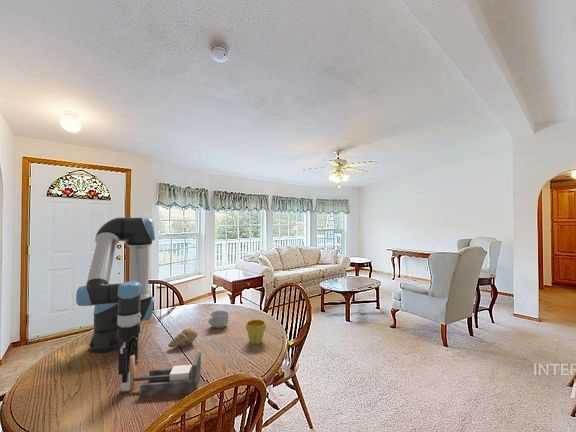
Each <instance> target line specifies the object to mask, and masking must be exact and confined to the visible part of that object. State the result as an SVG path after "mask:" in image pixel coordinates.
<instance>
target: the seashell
mask: <svg viewBox="0 0 576 432" xmlns="http://www.w3.org/2000/svg"><path fill="white" fill-rule="evenodd" d="M198 335H199V334H198V333H197V332H196V331H195V330H194V329H192V328H185V329H183V330H182V331H181V332H180V333H178V334H177V336H175V337H174V338H173V339H172V340H171V341H170V342H169V344H168V345H167V346H168V347H169V348H174V347H186V346H189V345H191V344H193V342H194V341H195V340H196V338H197V337H198Z"/></svg>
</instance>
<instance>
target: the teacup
mask: <svg viewBox="0 0 576 432" xmlns="http://www.w3.org/2000/svg"><path fill="white" fill-rule="evenodd" d="M229 315H230V313H229V311H225V310H214V311H212V312H211V313H210V317H209V319H208V324H209V325H210V326H211V327H213V328H214V329H224V328H225V327H226V326H227V325H228V324H229Z"/></svg>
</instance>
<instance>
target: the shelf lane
mask: <svg viewBox="0 0 576 432" xmlns="http://www.w3.org/2000/svg"><path fill="white" fill-rule="evenodd" d="M201 359H202V352H201V351H196V354H195V356H194V359H193V363H192V364H191V365H192V380H187V381H173V382H170V379H158V380H148V381H149V382H148V383H147V382H146V383H141V384H140V385H139V386H140V387H139V397H151V396H163V395H164V396H165V395H176V394H189V393H190V394H191V393H194V392H193V391H195V390H196V391H197V390H198V387H199V383H200V380H201V369H202V367H201V365H202V363H201V362H202V360H201ZM172 368H173V367H172ZM172 368H160V369H158V368H157V369H155V368H154V369H150V370H149V371H148V373H149V374H148V376H158V375H170V373H171V370H172ZM157 381H162V382H157Z"/></svg>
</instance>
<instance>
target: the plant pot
mask: <svg viewBox="0 0 576 432" xmlns="http://www.w3.org/2000/svg"><path fill="white" fill-rule="evenodd" d="M266 329H267V322H266V321H265V320H264V319H251V320H248V321H247V322H246V324H245V330H246V332H247V336H248V340H249V343H250V344H251V345H258V344H261V343H262V342H263V339H264V333H265V331H266Z"/></svg>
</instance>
